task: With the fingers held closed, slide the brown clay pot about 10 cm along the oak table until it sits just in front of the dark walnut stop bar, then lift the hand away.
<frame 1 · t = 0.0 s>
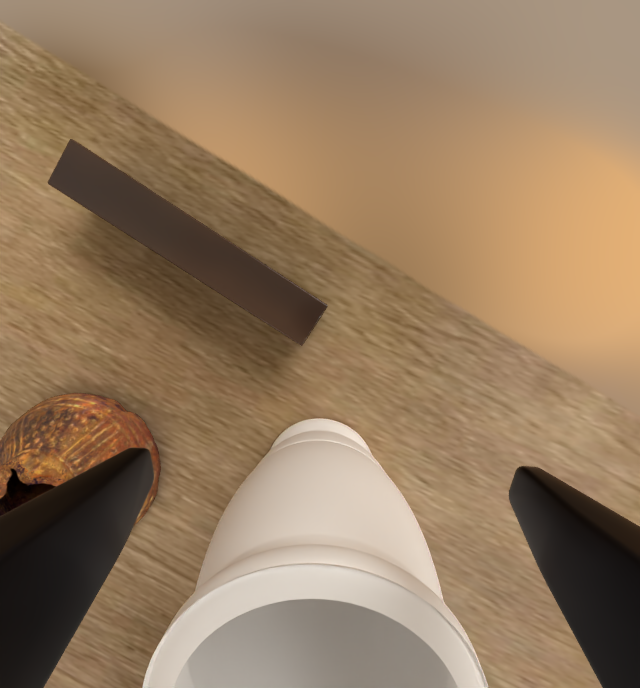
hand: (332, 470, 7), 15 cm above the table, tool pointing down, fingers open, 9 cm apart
brown clay pot: (93, 462, 24), on the table
stop bar: (213, 257, 22), on the table
jar: (320, 467, 24), on the table
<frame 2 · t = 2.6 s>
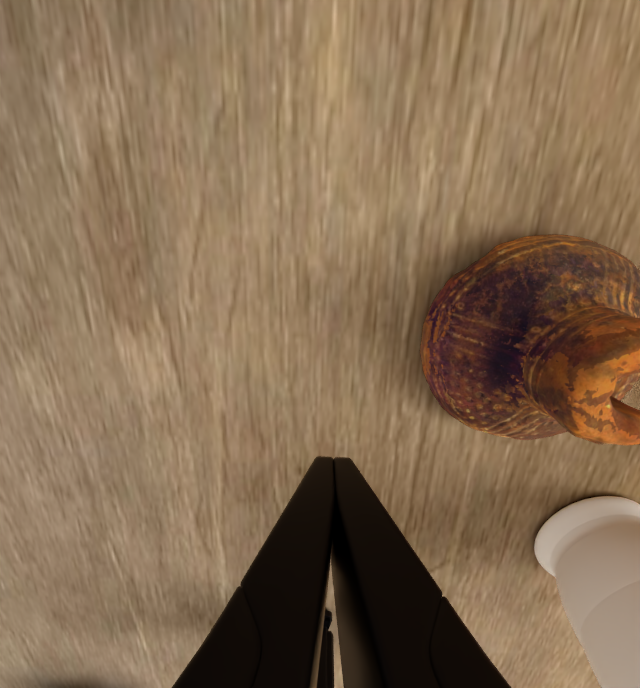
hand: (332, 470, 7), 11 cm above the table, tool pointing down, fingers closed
brown clay pot: (515, 338, 18), on the table
jar: (585, 532, 23), on the table
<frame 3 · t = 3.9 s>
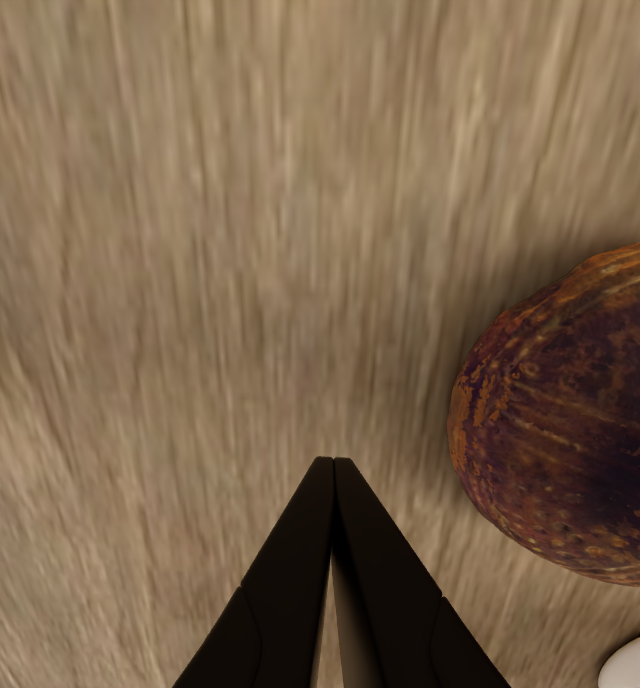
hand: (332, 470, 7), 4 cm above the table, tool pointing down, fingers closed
brown clay pot: (598, 405, 11), on the table
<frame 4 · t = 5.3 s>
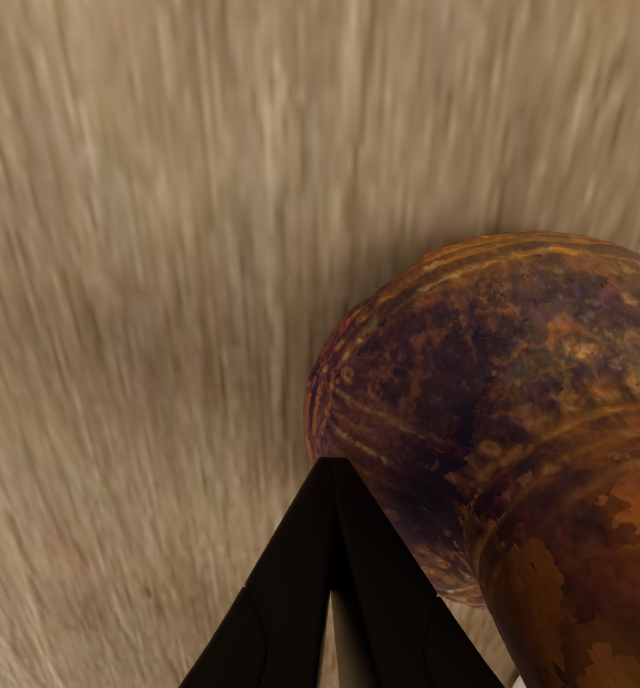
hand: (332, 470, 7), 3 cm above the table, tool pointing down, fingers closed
brown clay pot: (476, 411, 10), on the table, touching gripper
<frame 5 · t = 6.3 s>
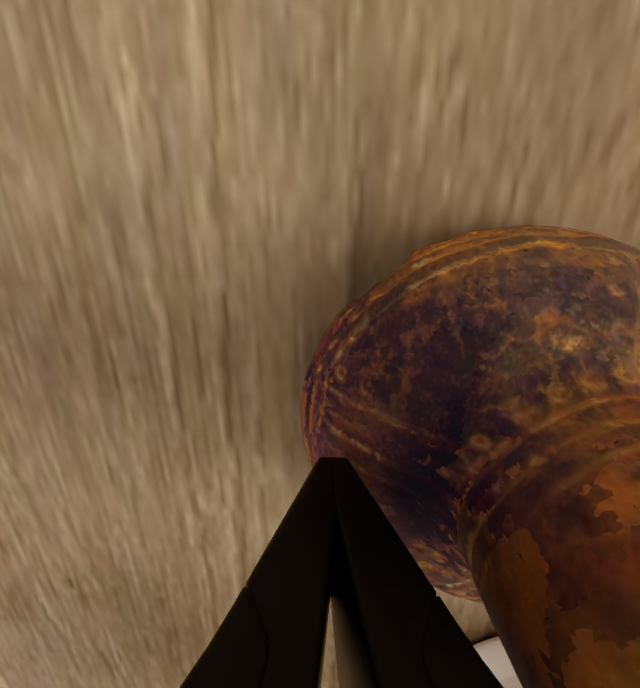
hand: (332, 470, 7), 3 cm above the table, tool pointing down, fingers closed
brown clay pot: (473, 407, 10), on the table, touching gripper
jar: (514, 671, 16), on the table
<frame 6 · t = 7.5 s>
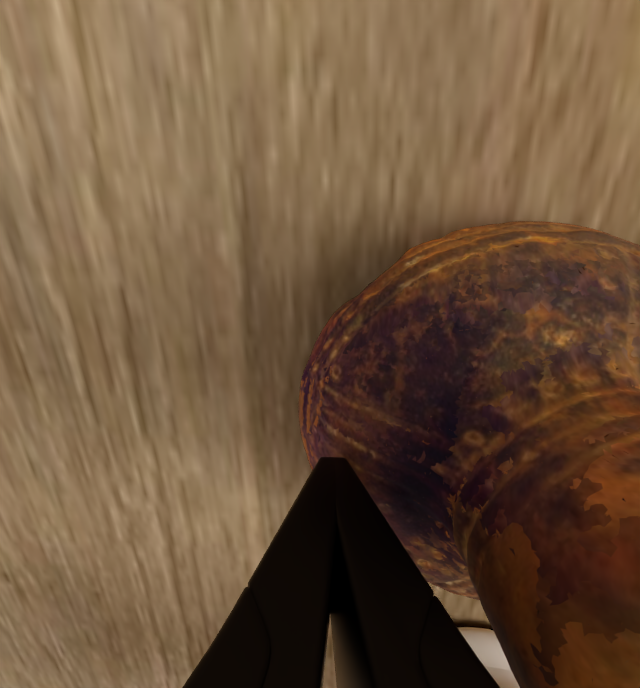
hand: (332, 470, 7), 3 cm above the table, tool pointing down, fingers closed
brown clay pot: (472, 404, 10), on the table, touching gripper
jar: (453, 666, 16), on the table
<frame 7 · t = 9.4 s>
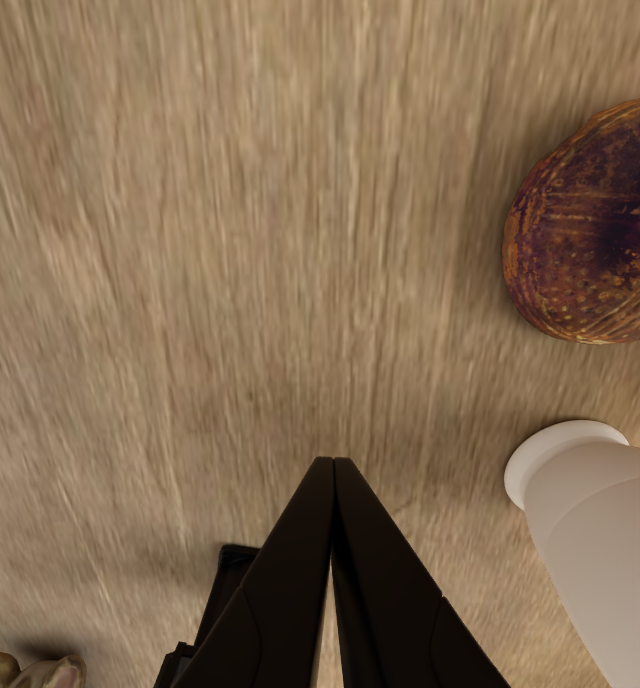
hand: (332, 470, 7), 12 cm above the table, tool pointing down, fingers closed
brown clay pot: (604, 235, 16), on the table
jar: (559, 464, 22), on the table
ceramic sculpture: (62, 665, 33), on the table
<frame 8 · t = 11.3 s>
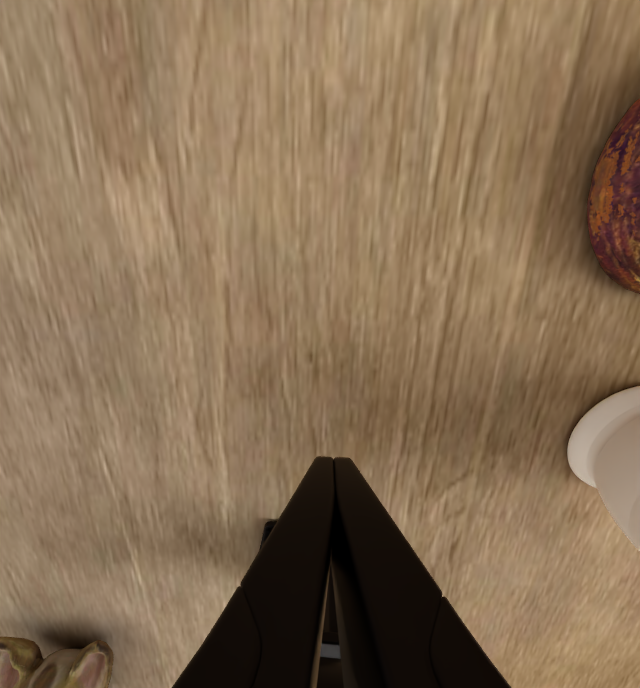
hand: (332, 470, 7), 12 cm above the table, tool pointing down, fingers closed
jar: (623, 434, 21), on the table
ceramic sculpture: (84, 654, 32), on the table
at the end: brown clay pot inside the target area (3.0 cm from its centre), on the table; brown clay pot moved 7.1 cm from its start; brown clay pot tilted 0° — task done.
